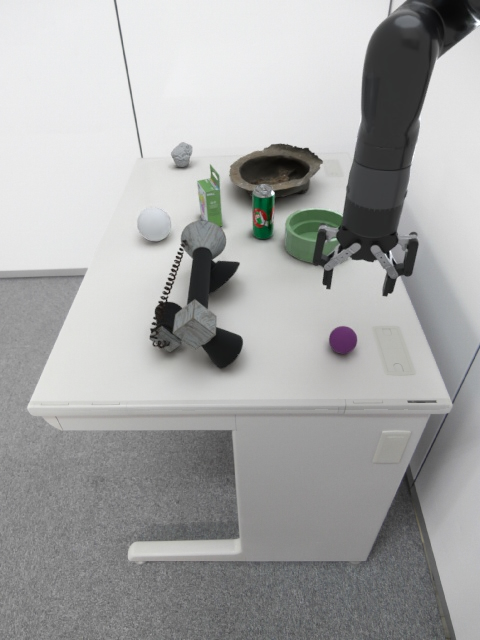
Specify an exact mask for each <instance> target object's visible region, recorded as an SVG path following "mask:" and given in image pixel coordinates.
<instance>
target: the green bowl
mask: <svg viewBox="0 0 480 640" xmlns="http://www.w3.org/2000/svg"><path fill="white" fill-rule="evenodd" d="M342 217H343V213H341V212H339V211H336V210H333V209H329V208H321V207H309V208H302V209H298V210H296V211H294V212H293V213H291V214H290V215H289V216H288V217H286V220H285V223H284V240H283V241H284V242H283V245H284V248H285V250H286V251H287V252H288V254H289V255H290V256H292V257H294V258H296V259H298V260H301V261H303V262H306V263H312V261H313V256H314V250H315V245H316V239H317V234H318V229H319V225H320V224H321V223H326V224H327V226H328V227H332V228H339V227H340V225H341V223H342ZM338 244H339V242H338V241H337V239H336V237H333V238H332V239H331V241H330V242H328V243H324V248H323V253H322V254H325V255H328V254H329V253H331V252H332V251H333V250H334V249H335V247H336V246H337V245H338Z"/></svg>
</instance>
